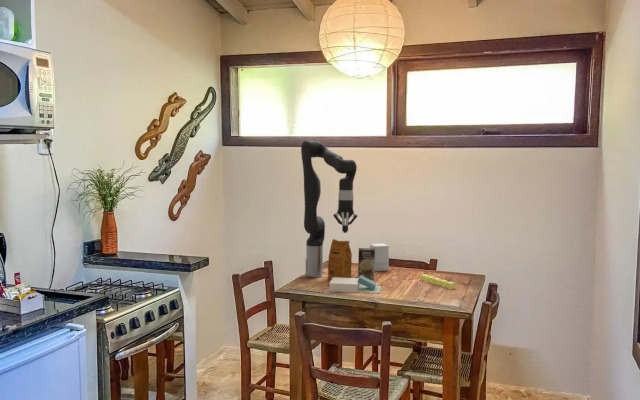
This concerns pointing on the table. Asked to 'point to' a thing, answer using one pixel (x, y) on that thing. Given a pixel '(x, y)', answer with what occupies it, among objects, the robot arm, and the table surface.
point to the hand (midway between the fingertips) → (345, 232)
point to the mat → (367, 290)
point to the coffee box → (366, 262)
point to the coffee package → (339, 260)
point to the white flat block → (344, 284)
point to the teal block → (366, 282)
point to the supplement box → (381, 257)
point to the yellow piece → (438, 281)
